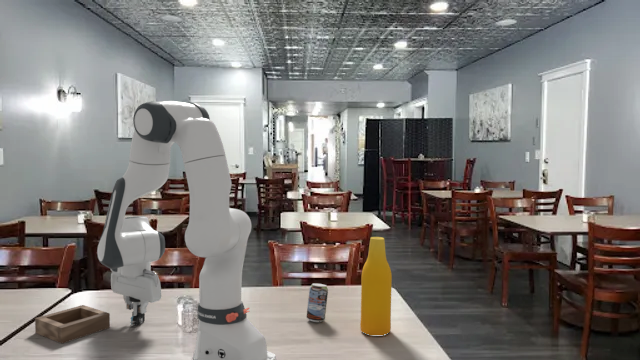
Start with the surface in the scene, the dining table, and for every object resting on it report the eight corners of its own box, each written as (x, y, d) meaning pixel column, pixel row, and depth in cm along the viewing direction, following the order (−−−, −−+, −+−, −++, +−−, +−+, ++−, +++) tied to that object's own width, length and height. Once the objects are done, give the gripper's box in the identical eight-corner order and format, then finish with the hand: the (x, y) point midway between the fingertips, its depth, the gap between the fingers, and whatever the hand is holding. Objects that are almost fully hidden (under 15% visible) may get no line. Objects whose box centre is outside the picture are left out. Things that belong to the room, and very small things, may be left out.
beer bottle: (355, 328, 153) (356, 236, 151) (381, 324, 156) (383, 234, 154) (368, 339, 144) (370, 241, 142) (396, 335, 147) (398, 239, 145)
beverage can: (303, 322, 157) (303, 285, 156) (313, 315, 164) (314, 280, 163) (320, 325, 154) (320, 288, 153) (330, 318, 161) (331, 282, 160)
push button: (138, 328, 150) (139, 296, 149) (122, 326, 151) (123, 295, 150) (149, 321, 157) (150, 290, 156) (133, 319, 157) (134, 288, 157)
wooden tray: (109, 327, 150) (109, 313, 150) (61, 343, 138) (61, 328, 137) (83, 318, 158) (82, 304, 158) (35, 333, 145) (35, 318, 145)
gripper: (166, 270, 150) (166, 314, 150) (124, 261, 161) (124, 302, 161) (149, 274, 144) (149, 320, 145) (106, 264, 155) (107, 307, 156)
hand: (136, 310), depth 153 cm, fingers closed on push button, 5 cm apart
